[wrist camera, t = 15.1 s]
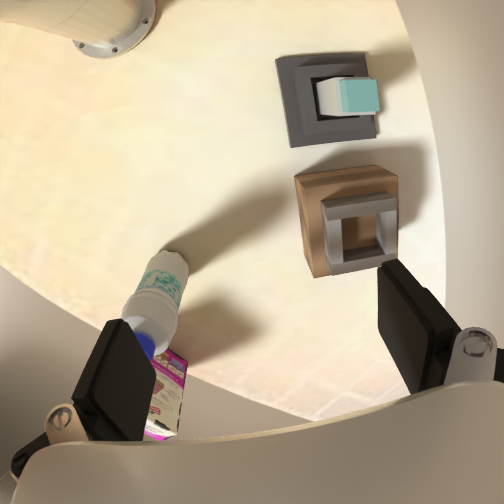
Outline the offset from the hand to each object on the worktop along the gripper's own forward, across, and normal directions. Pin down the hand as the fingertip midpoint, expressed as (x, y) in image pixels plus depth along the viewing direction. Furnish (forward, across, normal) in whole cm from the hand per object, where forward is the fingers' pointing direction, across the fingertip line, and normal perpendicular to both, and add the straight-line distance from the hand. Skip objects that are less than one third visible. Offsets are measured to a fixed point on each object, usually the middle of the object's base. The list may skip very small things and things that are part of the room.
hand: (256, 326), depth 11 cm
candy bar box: (+33, +23, +29) cm, 50 cm away
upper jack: (+33, -12, +10) cm, 36 cm away
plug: (+32, -13, -6) cm, 35 cm away
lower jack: (+33, -13, -6) cm, 36 cm away
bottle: (+33, +14, +12) cm, 38 cm away
